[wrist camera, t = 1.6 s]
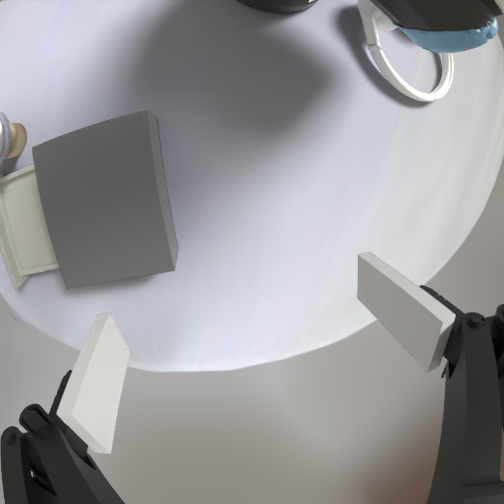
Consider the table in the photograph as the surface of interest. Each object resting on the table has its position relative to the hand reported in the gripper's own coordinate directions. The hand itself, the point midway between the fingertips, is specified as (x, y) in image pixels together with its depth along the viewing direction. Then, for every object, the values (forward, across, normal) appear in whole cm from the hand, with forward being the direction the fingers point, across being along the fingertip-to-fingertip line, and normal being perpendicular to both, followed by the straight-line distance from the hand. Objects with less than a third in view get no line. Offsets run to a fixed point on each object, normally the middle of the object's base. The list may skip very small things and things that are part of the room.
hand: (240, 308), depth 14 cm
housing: (+23, -12, +5) cm, 27 cm away
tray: (+23, -24, +5) cm, 34 cm away
